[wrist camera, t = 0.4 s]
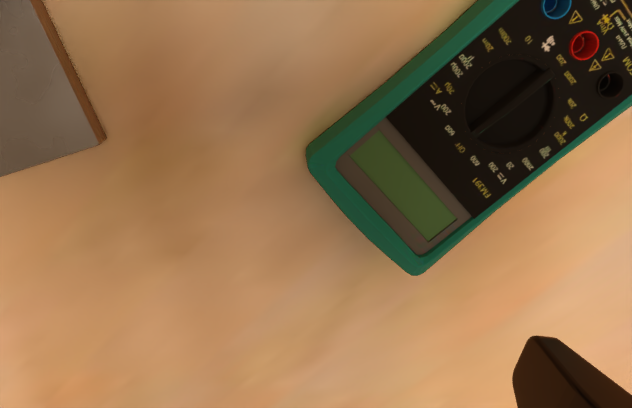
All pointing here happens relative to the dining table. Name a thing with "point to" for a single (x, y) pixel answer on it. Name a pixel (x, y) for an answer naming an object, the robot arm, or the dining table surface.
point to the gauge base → (39, 92)
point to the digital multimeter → (475, 121)
